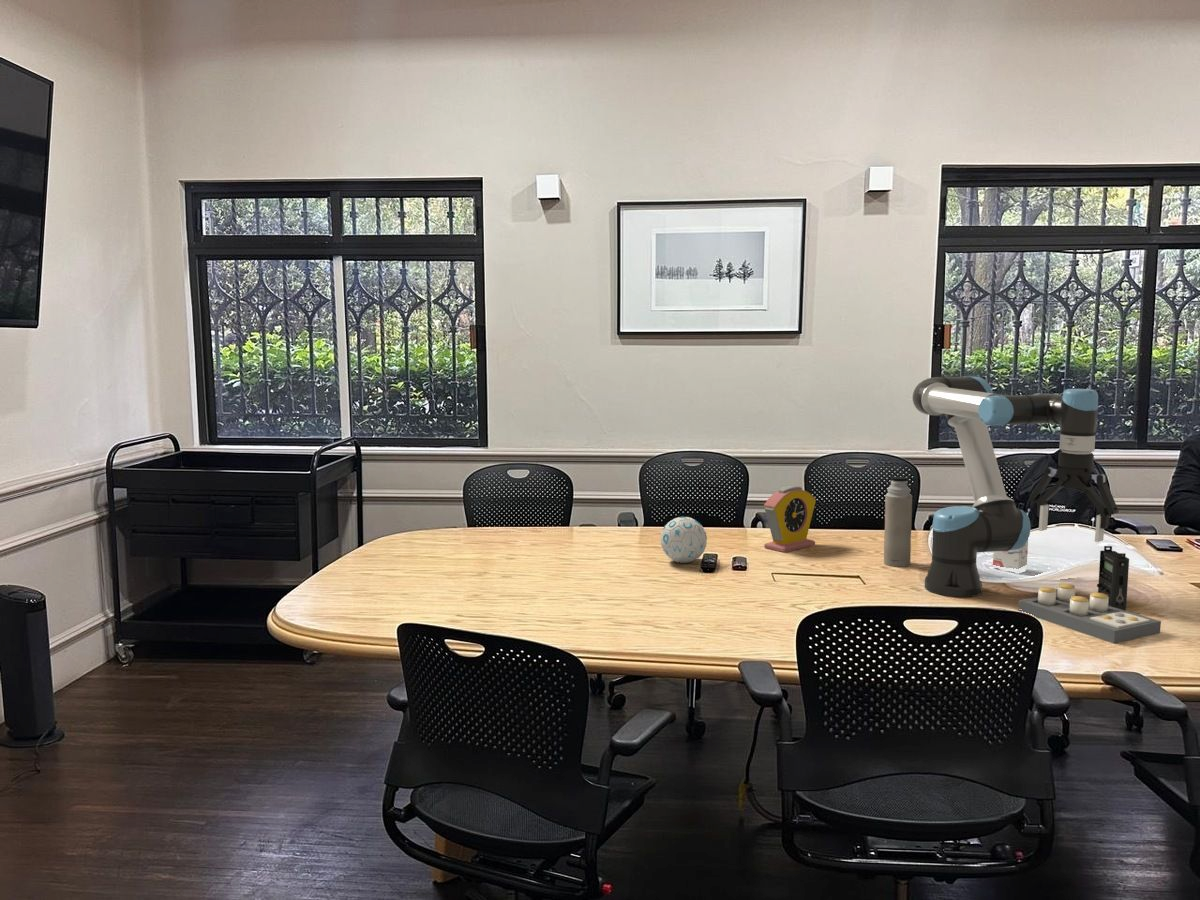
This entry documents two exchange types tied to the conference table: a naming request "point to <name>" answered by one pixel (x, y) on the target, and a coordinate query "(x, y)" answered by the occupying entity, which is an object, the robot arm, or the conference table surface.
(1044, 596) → the button
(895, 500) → the thermos bottle
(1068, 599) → the button
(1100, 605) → the yellow topped white button
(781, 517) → the yellow mantel clock
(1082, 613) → the white jar yellow lid
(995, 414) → the robot arm
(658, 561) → the conference table surface
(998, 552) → the ink cartridge box
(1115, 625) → the button board
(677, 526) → the puzzle ball
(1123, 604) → the geiger counter
